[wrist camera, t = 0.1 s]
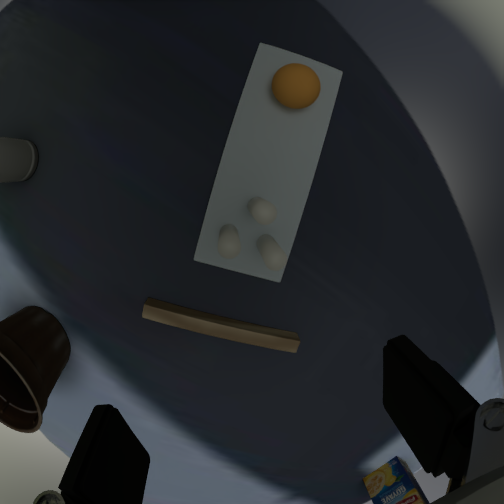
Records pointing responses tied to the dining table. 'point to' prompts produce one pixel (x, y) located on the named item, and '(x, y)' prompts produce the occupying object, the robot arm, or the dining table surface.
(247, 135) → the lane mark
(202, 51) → the dining table surface
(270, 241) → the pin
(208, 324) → the back wall
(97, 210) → the dining table surface
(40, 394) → the plant pot
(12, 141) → the travel mug
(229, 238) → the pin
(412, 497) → the beverage box
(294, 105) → the ball
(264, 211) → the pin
